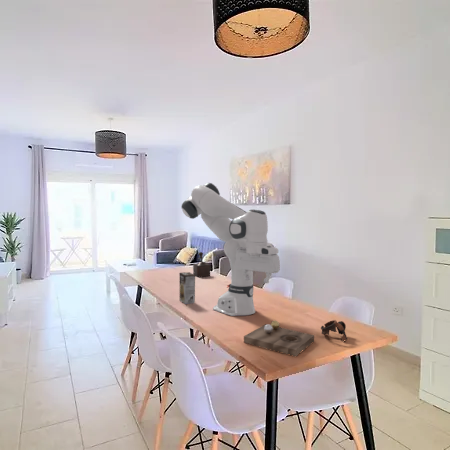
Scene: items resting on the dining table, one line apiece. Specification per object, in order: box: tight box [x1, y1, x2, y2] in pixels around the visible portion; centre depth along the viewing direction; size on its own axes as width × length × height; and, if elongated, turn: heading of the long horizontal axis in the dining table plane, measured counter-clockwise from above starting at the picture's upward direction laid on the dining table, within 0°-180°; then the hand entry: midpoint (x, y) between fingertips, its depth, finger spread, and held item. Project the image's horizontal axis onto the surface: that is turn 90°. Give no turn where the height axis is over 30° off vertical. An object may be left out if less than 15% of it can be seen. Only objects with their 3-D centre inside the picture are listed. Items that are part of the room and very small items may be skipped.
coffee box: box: [179, 271, 196, 305], centre depth 193 cm, size 9×6×16 cm
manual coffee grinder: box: [192, 251, 211, 279], centre depth 271 cm, size 16×11×18 cm
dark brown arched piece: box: [320, 319, 348, 342], centre depth 141 cm, size 12×10×8 cm
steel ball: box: [264, 323, 273, 333], centre depth 138 cm, size 4×4×4 cm
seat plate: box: [243, 323, 315, 357], centre depth 135 cm, size 22×18×2 cm
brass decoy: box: [270, 320, 280, 329], centre depth 143 cm, size 4×4×4 cm
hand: (256, 281), depth 142 cm, fingers open, 8 cm apart
